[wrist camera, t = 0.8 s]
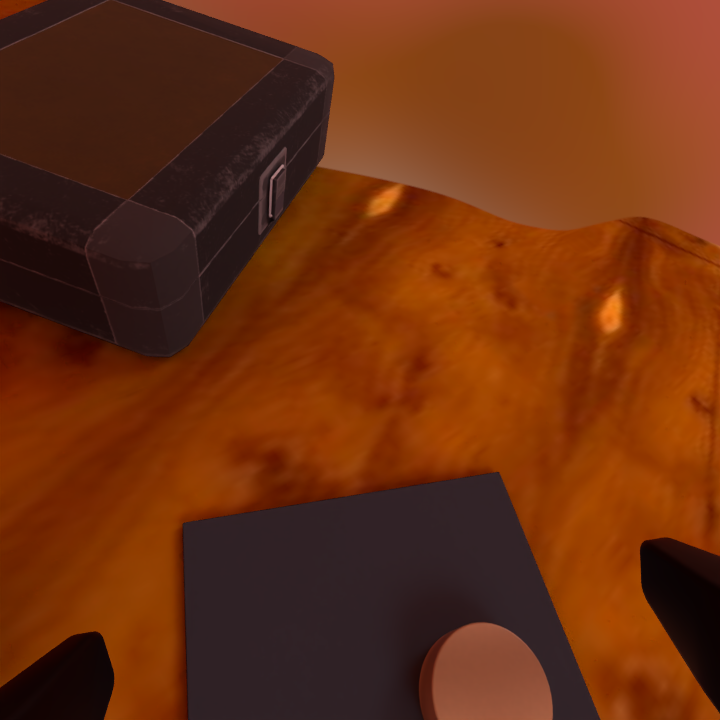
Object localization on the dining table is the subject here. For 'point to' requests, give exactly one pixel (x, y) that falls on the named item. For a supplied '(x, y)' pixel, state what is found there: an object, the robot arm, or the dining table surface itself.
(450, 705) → the wooden spoon
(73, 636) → the robot arm
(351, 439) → the dining table surface
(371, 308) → the dining table surface
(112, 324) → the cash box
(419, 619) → the placemat
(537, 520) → the dining table surface
